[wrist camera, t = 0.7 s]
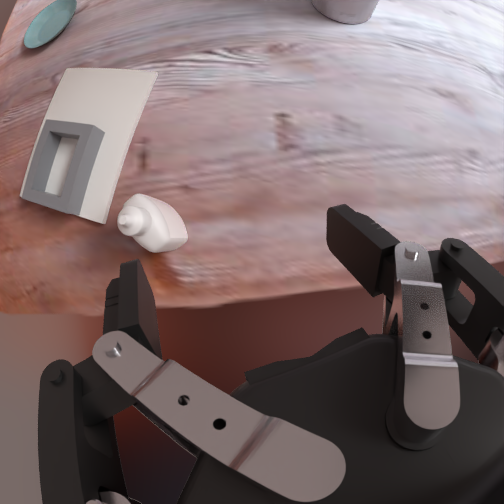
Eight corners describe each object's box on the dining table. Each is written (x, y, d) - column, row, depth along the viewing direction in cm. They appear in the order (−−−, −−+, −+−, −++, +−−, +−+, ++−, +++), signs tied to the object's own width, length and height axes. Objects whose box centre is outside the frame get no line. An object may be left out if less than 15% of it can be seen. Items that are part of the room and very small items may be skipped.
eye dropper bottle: (185, 197, 33) (146, 178, 21) (189, 248, 33) (152, 254, 21) (148, 203, 33) (96, 188, 21) (153, 252, 33) (102, 260, 21)
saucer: (72, 39, 33) (66, 33, 30) (23, 61, 33) (16, 57, 31) (88, -5, 32) (83, -12, 30) (40, 16, 32) (34, 11, 30)
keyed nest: (69, 70, 33) (56, 59, 29) (158, 74, 32) (149, 60, 29) (23, 196, 34) (6, 194, 30) (105, 224, 33) (89, 222, 30)
